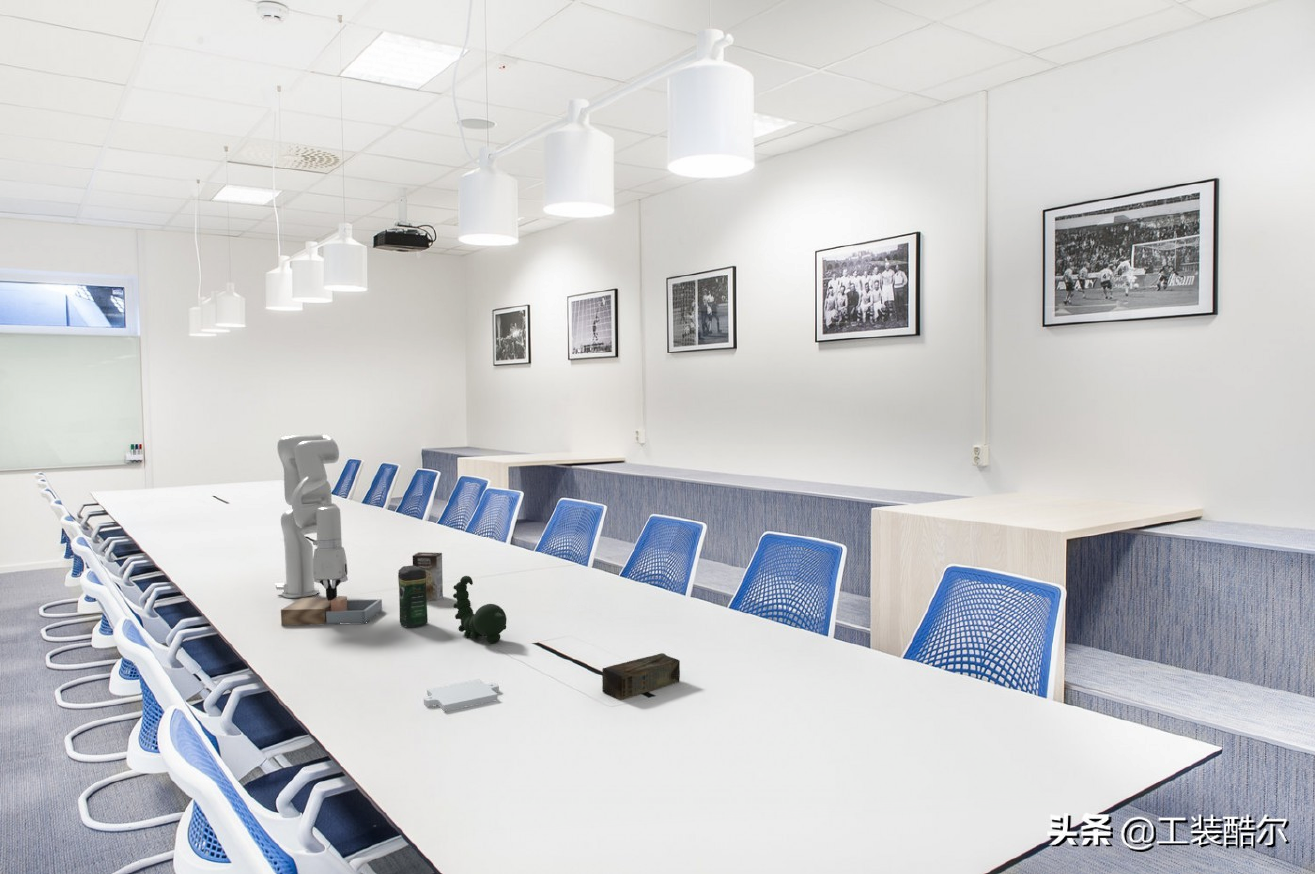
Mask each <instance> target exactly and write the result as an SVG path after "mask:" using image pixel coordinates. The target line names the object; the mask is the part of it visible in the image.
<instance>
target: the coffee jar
mask: <svg viewBox="0 0 1315 874" xmlns="http://www.w3.org/2000/svg"><path fill="white" fill-rule="evenodd" d="M397 573H398V576H397V579H398V580H397V582H398V592H399V593H398V594H399V595H398V596H399V598H398V599H399V600H398V601H399V604H398V605H399V623H400V625H401V626H403V627H405V628H421V627H422V626H426V625H427V624H428V622H429V621H428V603H427V602H428V600H427V594H426V571H425V570H424V569H422V568H419V567H416V566H415V565H413V564H412V565H404V566H402V567H400V569H398V572H397Z"/></svg>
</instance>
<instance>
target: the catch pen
mask: <svg viewBox="0 0 1315 874" xmlns="http://www.w3.org/2000/svg"><path fill="white" fill-rule="evenodd" d="M381 611H382V612H383V601H382V599H381V598H380V599H378V598H377V599H375V598H373V599H347V611H327V612H326V618H327V622H326V623H325V624H324V625H341V624H340V623H366V622H367V623H369V622H370V621H371V620H373V619H374V618H375V617H376V616H378V615H379V614H380V613H382V612H381ZM377 614H378V615H377ZM372 618H373V619H372ZM370 619H371V620H370ZM369 620H370V621H369ZM368 621H369V622H368ZM367 623H366V624H367Z"/></svg>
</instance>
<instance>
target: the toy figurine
mask: <svg viewBox="0 0 1315 874" xmlns="http://www.w3.org/2000/svg"><path fill="white" fill-rule="evenodd" d="M459 580H460V581H458V582H457V583H456V584H455V585H453V590H455V591H456V592H455V593H454V594H452V597H453V598H454V599H456V600H457V601H456V603H453V606H452V607H453V609H457V613H455V614H454V615H455V616H454V618H455V619H456V620H460V625H459V626H458V631H459V632H461V633H463V632H464V633H463V636H464V638H466V639H467V638H471V639H473V640H474V641H475V640H477V639H478V638H479V637H481V636H482V637H485V639H486V642H487V643H489V644H491V645H492V644H495V643H498V642H499V641H500V640H501V633H502V632H503V631H504V630H506V629H507V615H506V613H505V611H504V609H503V608H502V607H501V606H499V605H498V604H496V603H495V604H494V603H487V604H483V605H482V606H480V607H479V608H478V609H477V610H476V611H475V613H474V610H473V608H472V607H471V600H470V599H469V595H470V594H469V590H468V584H470V586H472V585H473V583H474V582H473V579H472V577H471V576H470V575H464V576H462V577H461V578H460V579H459Z"/></svg>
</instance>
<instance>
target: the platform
mask: <svg viewBox="0 0 1315 874" xmlns="http://www.w3.org/2000/svg"><path fill="white" fill-rule="evenodd" d="M327 611H331V600H330V601H328V600H327V597H326V596H324V597H323V596H322V597H300V598H299V599H297V600H295V601H294V602H292V603H290V604H289V605H286V606H285V607H283V608H281V609H280V622H281V626H303V625H304V626H309V625H310V624H324V625H326V624H325V623H326V622H327V618H326V612H327ZM310 626H311V625H310Z"/></svg>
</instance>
